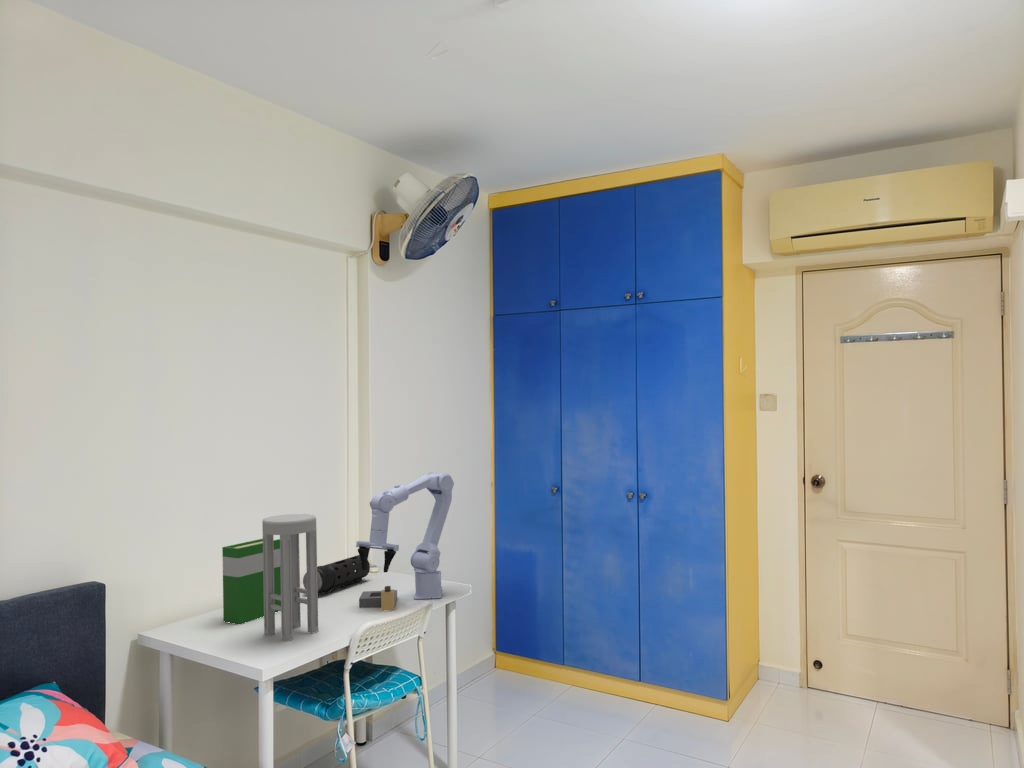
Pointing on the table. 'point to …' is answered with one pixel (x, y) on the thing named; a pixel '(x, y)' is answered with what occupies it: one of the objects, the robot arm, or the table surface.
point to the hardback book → (247, 581)
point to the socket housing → (372, 598)
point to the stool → (290, 573)
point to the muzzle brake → (339, 574)
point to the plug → (387, 599)
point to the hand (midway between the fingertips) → (374, 570)
